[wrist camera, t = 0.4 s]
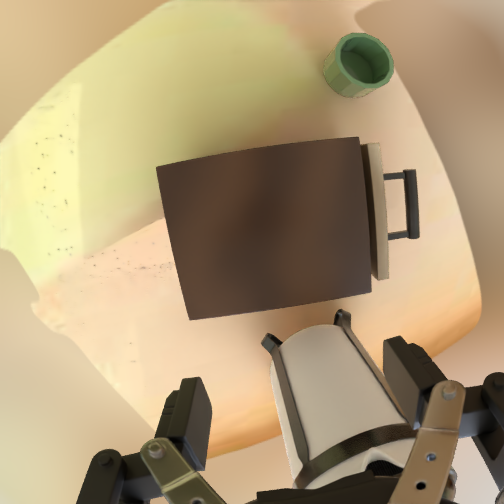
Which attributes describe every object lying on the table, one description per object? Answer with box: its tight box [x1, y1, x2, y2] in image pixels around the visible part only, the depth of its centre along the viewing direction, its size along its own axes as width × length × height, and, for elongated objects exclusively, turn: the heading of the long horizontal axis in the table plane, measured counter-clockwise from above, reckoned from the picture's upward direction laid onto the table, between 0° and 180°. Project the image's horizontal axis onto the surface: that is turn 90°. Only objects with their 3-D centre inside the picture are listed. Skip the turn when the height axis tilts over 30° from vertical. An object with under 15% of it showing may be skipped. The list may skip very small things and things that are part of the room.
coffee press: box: [261, 309, 457, 501], centre depth 25 cm, size 17×16×30 cm
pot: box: [323, 33, 394, 98], centre depth 28 cm, size 6×6×6 cm
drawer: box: [360, 143, 420, 280], centre depth 30 cm, size 20×13×7 cm, turn 99°
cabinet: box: [156, 137, 371, 320], centre depth 30 cm, size 17×14×9 cm
